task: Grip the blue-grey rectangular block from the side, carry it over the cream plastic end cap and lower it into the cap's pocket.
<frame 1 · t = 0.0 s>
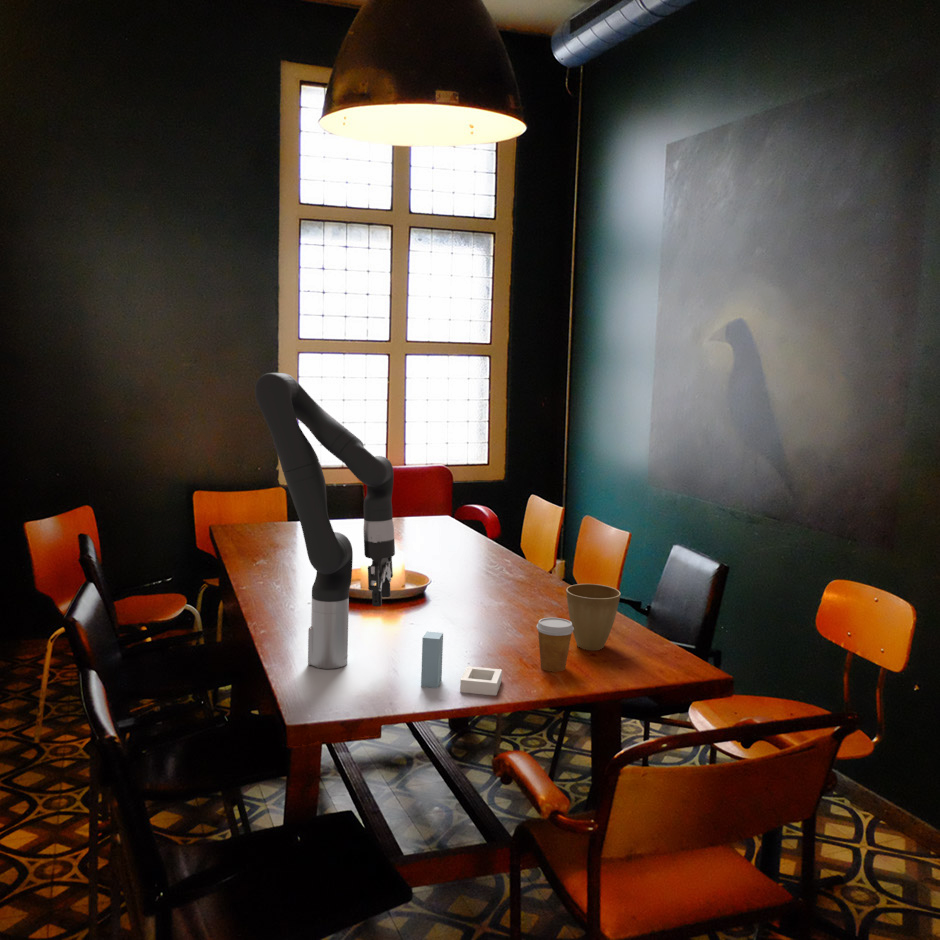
hand: (381, 601, 218), 17 cm above the table, tool pointing down, fingers open, 8 cm apart
disposable coffee cup: (552, 668, 225), on the table
end cap: (481, 686, 209), on the table
plant pot: (590, 647, 243), on the table
blue-grey rectangular block: (431, 683, 210), on the table
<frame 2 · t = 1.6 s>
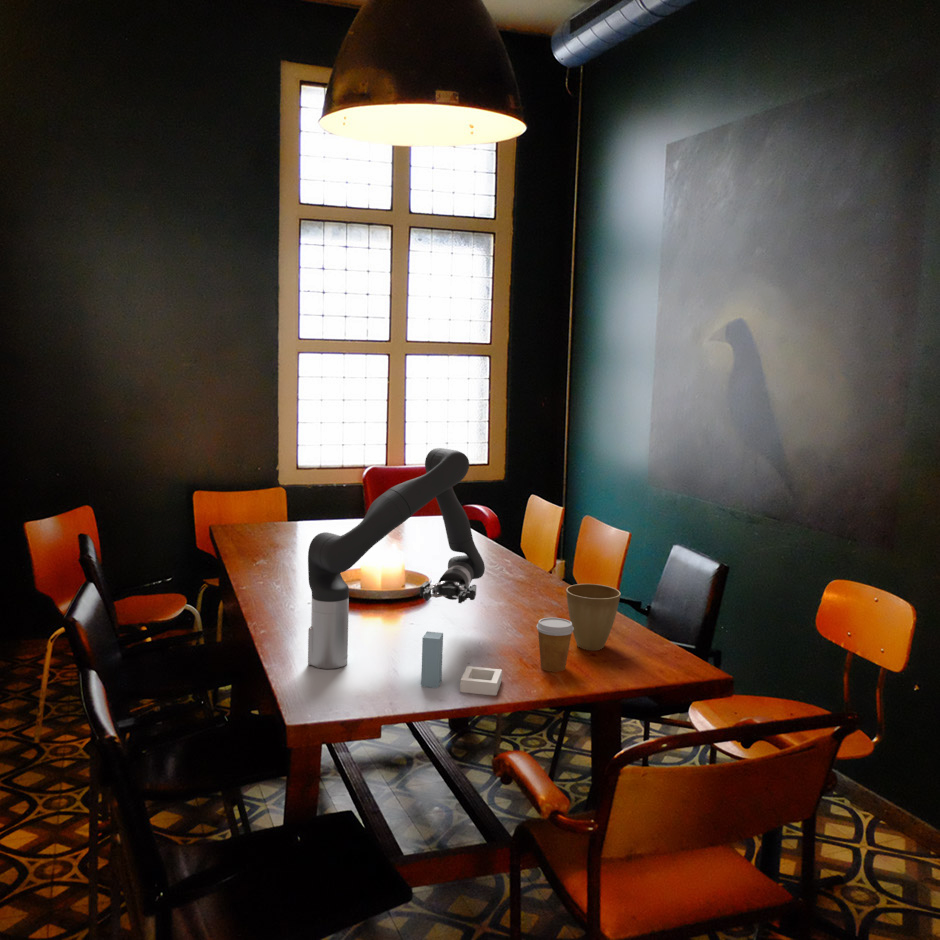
hand: (443, 598, 219), 18 cm above the table, tool horizontal, fingers open, 8 cm apart
nothing on the table moved.
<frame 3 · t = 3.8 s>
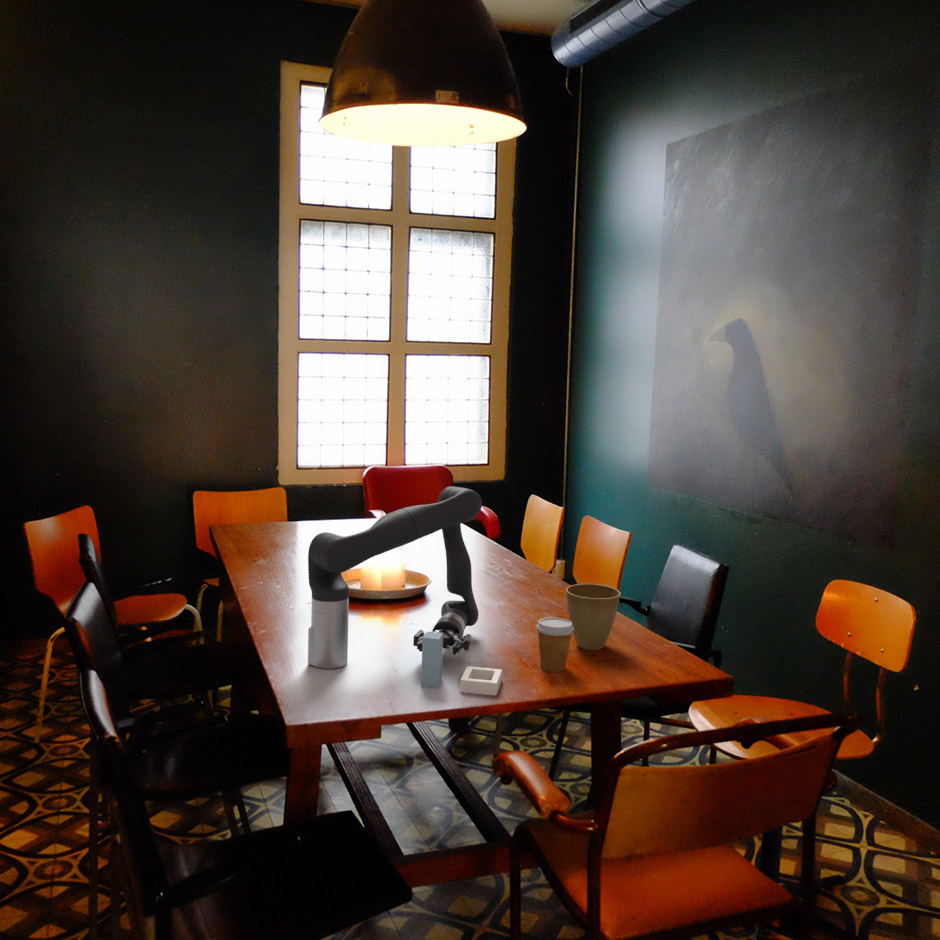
hand: (437, 649, 216), 7 cm above the table, tool horizontal, fingers open, 8 cm apart
nothing on the table moved.
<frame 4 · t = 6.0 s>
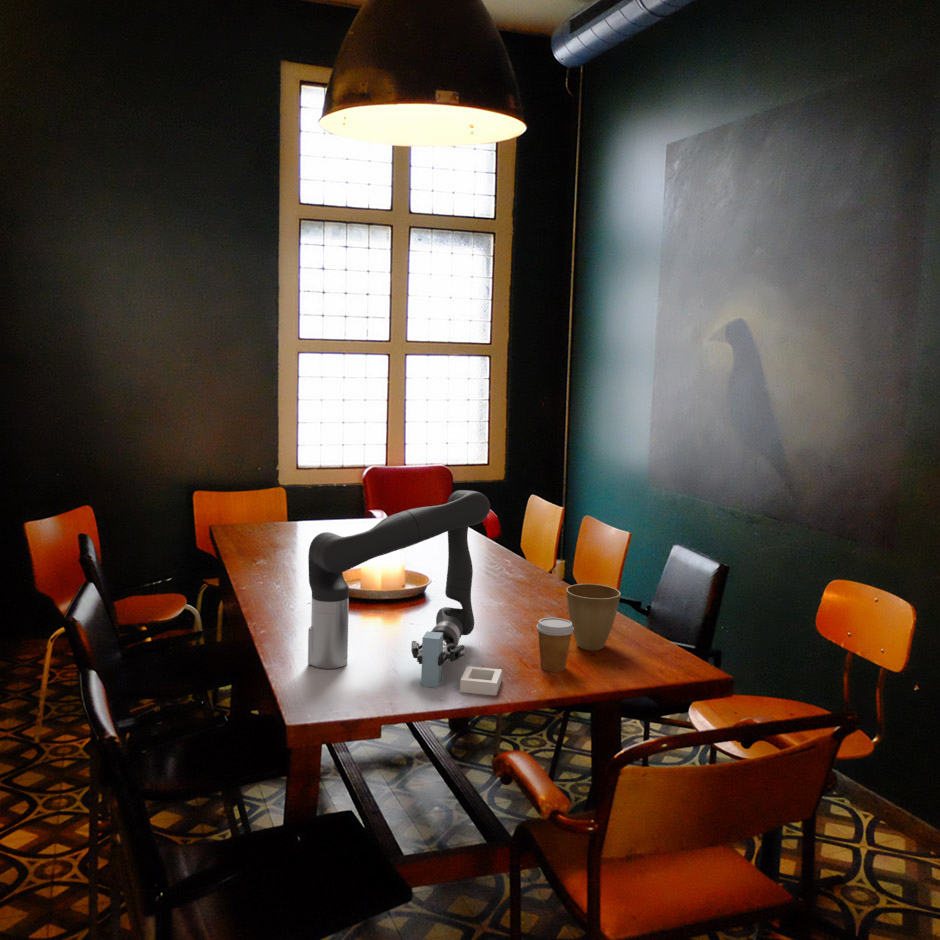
hand: (430, 660, 207), 7 cm above the table, tool horizontal, fingers closed on blue-grey rectangular block, 4 cm apart
blue-grey rectangular block: (431, 683, 210), on the table, touching gripper
everything else where it was.
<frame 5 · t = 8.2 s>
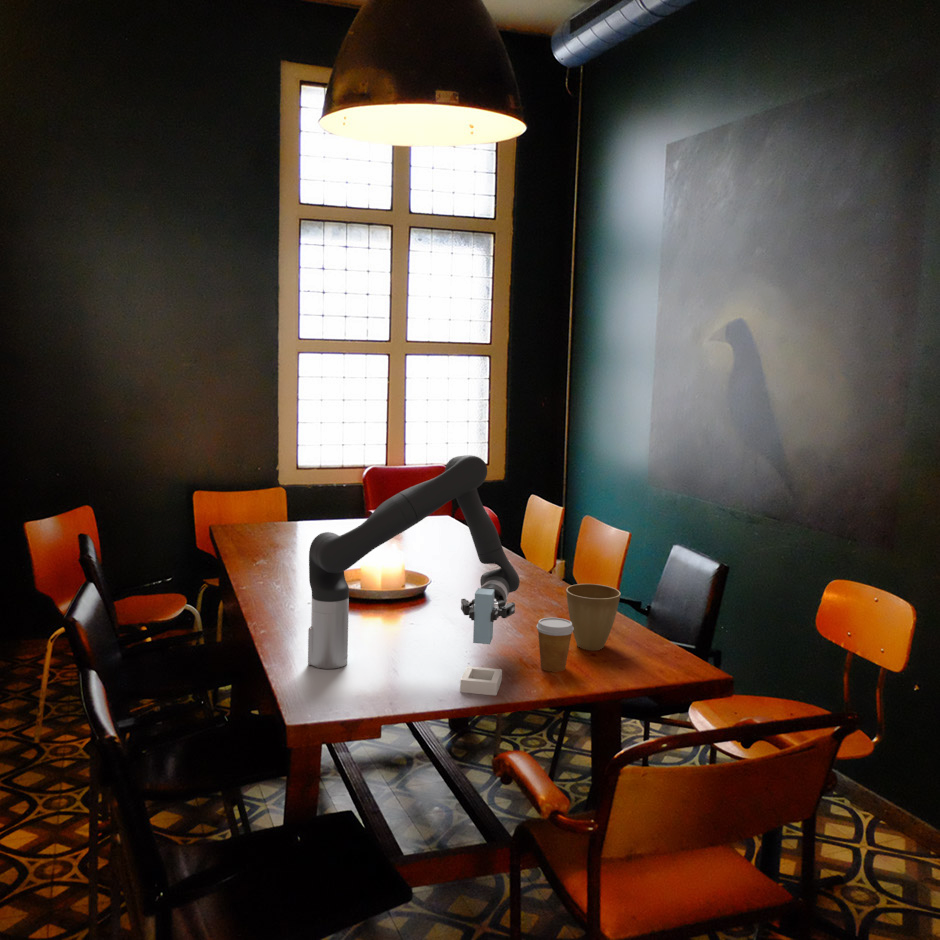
hand: (482, 617, 205), 18 cm above the table, tool horizontal, fingers closed on blue-grey rectangular block, 4 cm apart
blue-grey rectangular block: (482, 640, 208), point 11 cm above the table, touching gripper
everything else where it was.
when the fingers open (9 cm above the table, at t = 10.7 s): blue-grey rectangular block drops 2 cm, resting in end cap.
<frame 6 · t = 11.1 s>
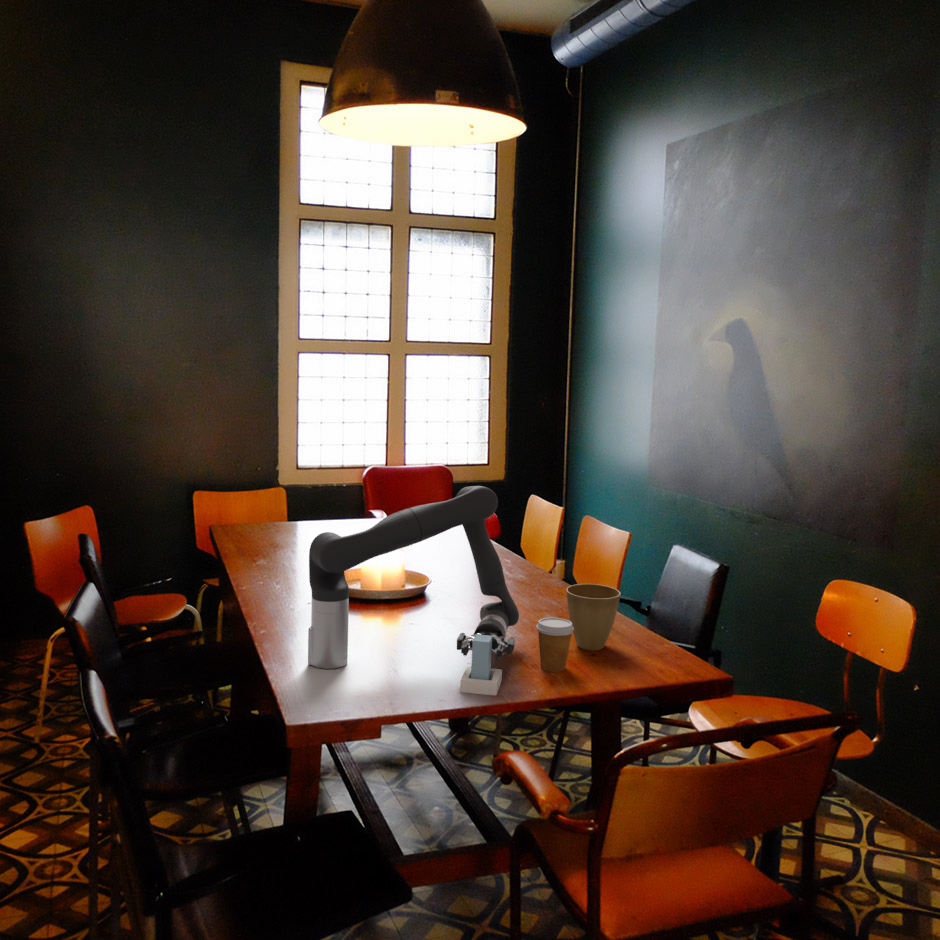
hand: (481, 653, 206), 9 cm above the table, tool horizontal, fingers open, 7 cm apart
blue-grey rectangular block: (480, 686, 209), resting in end cap
everything else where it was.
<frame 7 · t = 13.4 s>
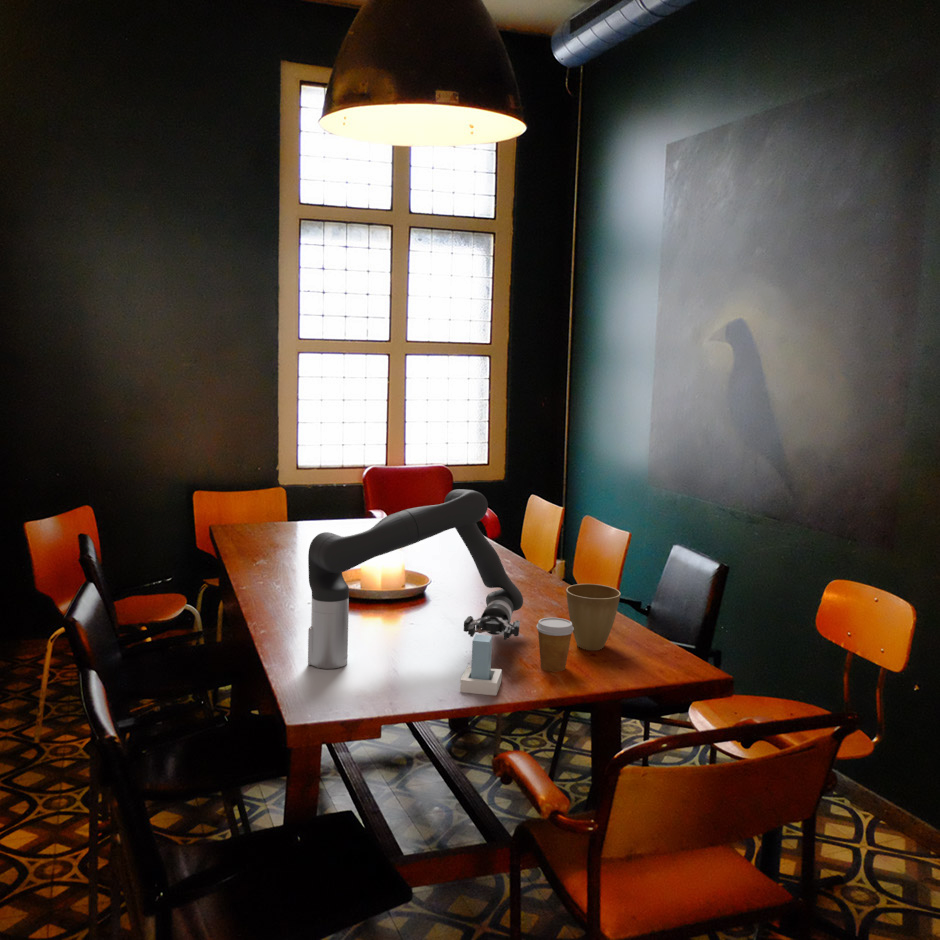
hand: (488, 634, 219), 10 cm above the table, tool horizontal, fingers open, 8 cm apart
nothing on the table moved.
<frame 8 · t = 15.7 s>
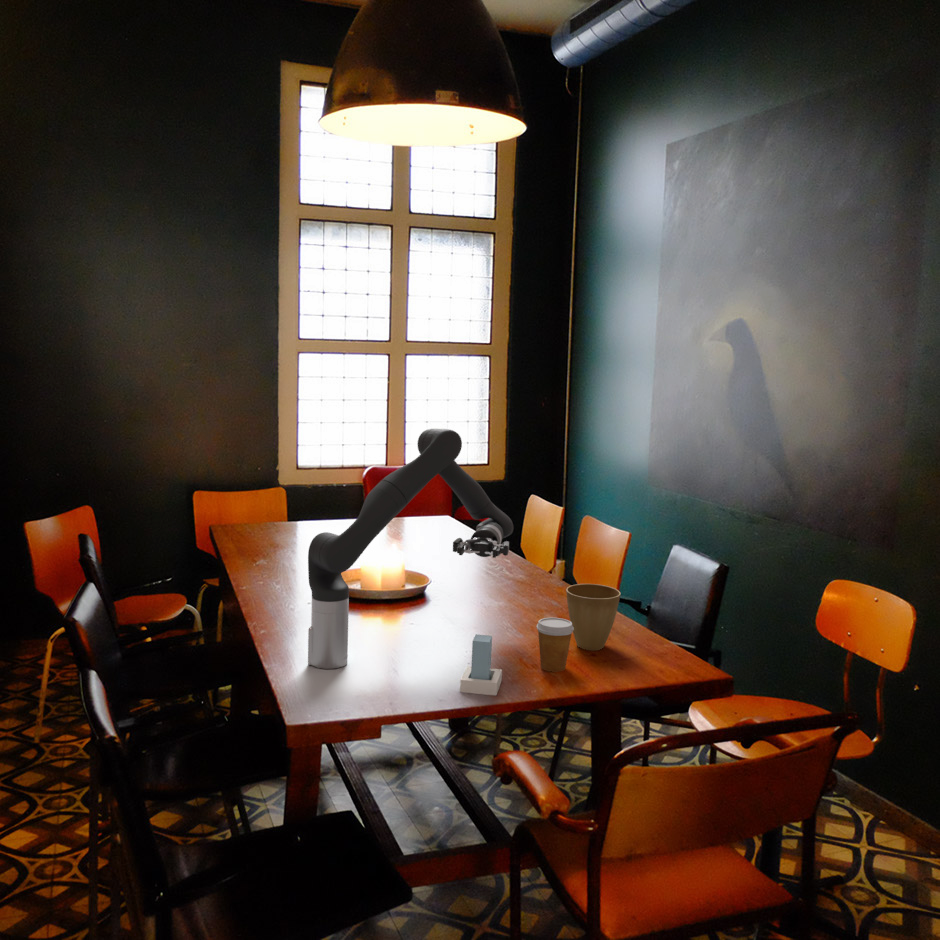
hand: (477, 552, 218), 30 cm above the table, tool horizontal, fingers open, 8 cm apart
nothing on the table moved.
at the end: blue-grey rectangular block 0.2 cm off-centre on the end cap, point 0.0 cm above the end cap's base; blue-grey rectangular block tilted 0°; the gripper is holding nothing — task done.
